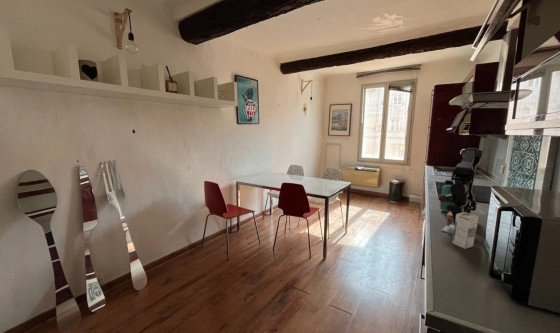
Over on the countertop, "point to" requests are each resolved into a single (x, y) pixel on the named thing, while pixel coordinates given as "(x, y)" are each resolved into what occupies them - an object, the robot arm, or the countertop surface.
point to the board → (448, 229)
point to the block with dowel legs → (449, 218)
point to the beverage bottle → (445, 192)
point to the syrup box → (465, 230)
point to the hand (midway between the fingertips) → (456, 221)
